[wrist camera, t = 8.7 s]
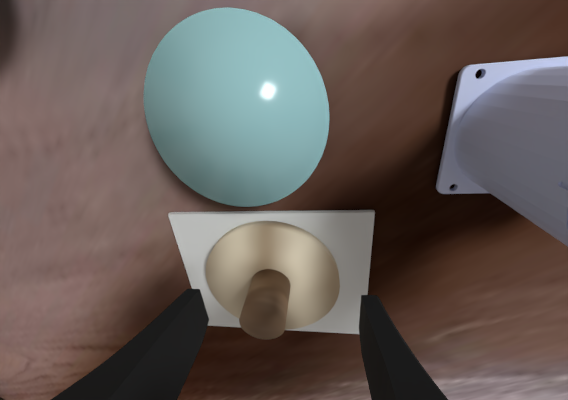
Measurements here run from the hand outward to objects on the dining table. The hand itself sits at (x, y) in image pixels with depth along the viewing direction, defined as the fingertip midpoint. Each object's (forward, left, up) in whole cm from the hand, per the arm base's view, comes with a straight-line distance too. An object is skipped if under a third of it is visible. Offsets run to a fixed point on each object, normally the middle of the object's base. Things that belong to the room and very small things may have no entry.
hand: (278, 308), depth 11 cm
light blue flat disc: (+3, -7, -10) cm, 12 cm away
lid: (+3, +7, -10) cm, 12 cm away
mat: (+2, +8, -10) cm, 13 cm away
